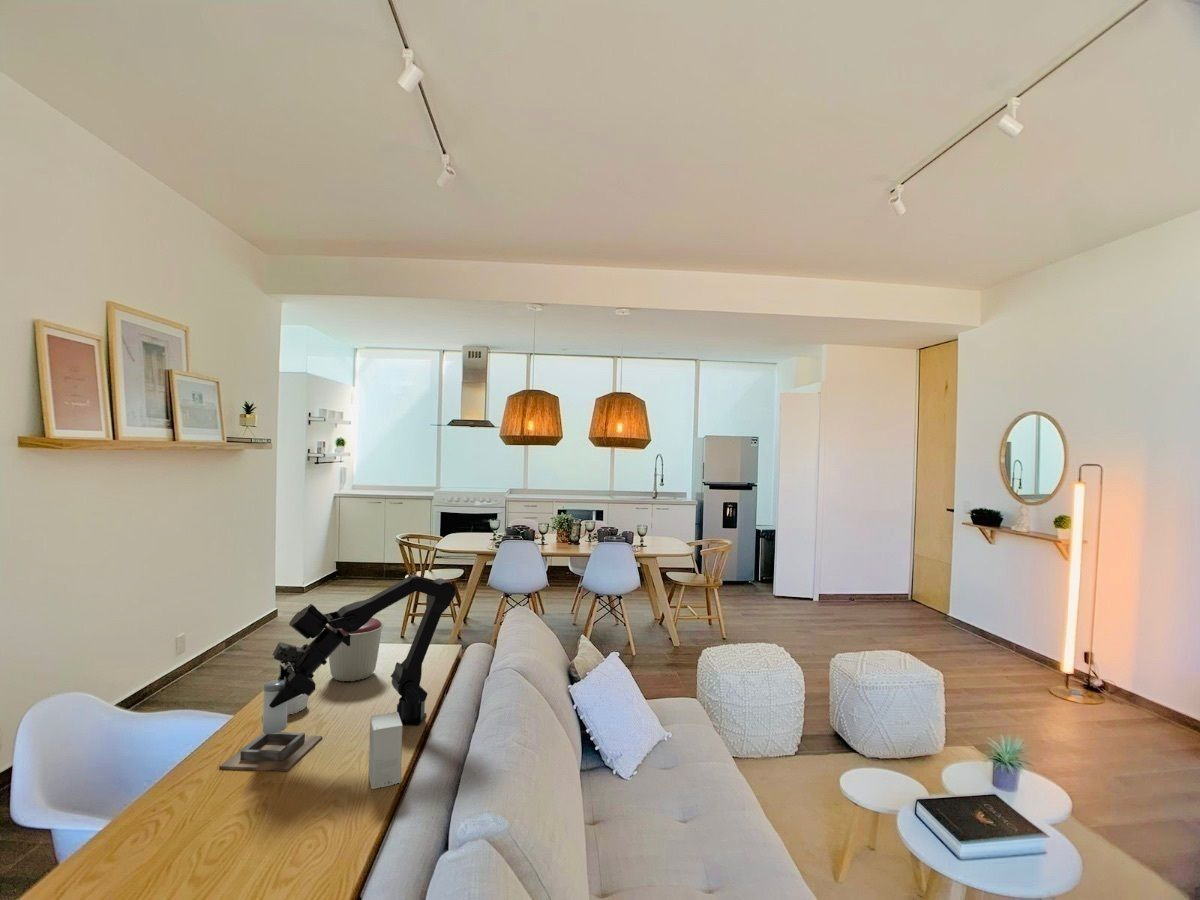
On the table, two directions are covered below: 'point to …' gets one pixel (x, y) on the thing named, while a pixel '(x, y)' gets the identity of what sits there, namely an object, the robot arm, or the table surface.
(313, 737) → the jig board
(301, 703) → the ramekin
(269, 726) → the grey cylinder
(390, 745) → the small box
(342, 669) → the canister
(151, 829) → the table surface
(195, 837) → the table surface
